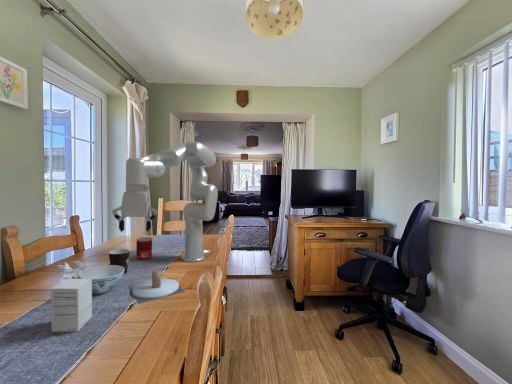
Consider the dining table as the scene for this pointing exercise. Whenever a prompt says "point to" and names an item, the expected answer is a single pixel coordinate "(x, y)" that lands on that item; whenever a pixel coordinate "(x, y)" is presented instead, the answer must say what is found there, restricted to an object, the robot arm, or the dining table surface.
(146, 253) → the canned food
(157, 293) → the lid
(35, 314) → the dining table surface
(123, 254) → the coffee mug
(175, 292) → the mat
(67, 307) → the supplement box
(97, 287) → the chinaware
